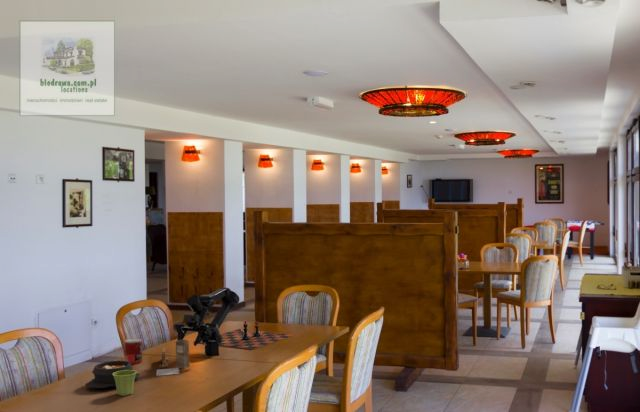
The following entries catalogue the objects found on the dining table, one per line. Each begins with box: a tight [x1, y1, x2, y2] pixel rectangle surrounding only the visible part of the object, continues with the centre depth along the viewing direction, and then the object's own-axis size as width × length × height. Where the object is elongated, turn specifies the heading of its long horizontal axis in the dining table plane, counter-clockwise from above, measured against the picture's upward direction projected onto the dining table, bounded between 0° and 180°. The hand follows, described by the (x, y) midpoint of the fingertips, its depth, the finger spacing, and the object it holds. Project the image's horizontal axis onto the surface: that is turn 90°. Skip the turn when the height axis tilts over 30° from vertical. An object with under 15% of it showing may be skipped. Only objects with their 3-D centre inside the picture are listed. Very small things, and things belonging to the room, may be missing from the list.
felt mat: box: [155, 367, 180, 377], centre depth 310 cm, size 10×10×1 cm
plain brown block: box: [175, 339, 190, 370], centre depth 318 cm, size 4×4×12 cm
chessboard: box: [193, 320, 295, 351], centre depth 376 cm, size 40×40×11 cm
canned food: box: [124, 337, 143, 365], centre depth 329 cm, size 8×8×11 cm
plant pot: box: [113, 369, 138, 397], centre depth 278 cm, size 9×9×9 cm
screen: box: [159, 347, 169, 368], centre depth 326 cm, size 4×14×6 cm, turn 13°
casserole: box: [84, 360, 140, 389], centre depth 293 cm, size 25×19×8 cm
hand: (186, 344), depth 321 cm, fingers open, 9 cm apart
